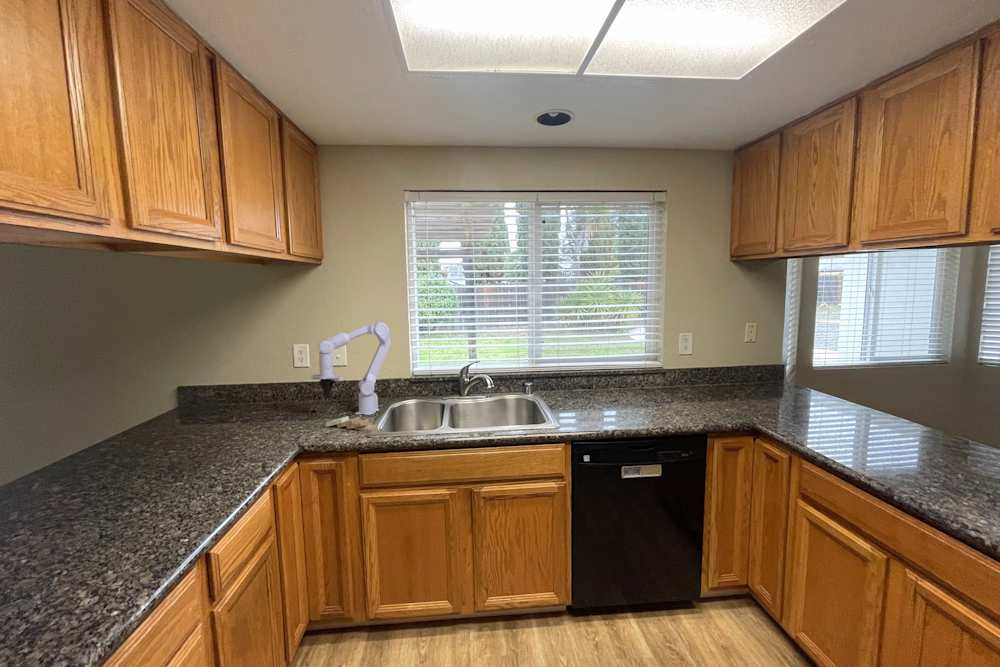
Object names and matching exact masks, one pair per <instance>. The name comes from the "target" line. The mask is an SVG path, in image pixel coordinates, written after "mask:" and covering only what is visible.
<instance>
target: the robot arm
mask: <svg viewBox="0 0 1000 667" xmlns="http://www.w3.org/2000/svg"><path fill="white" fill-rule="evenodd" d="M366 334H367V335H375V336H376V338H377V340H378V342H379V345H378V347H377V349H376V350H375V354H374V355H373V358H372V360H371V362H370V364H369V367H368V369H367V372H366V373H365V374H364V376H363V377H362V379H361V380H360V381H359V382H358V384H357V385H358V389H359V390H360V391H359V392H358V411H356V412H355V415H361V414H365V416H371V414H372V415H373V414H375V413H376V411H377V412H378V411H380V410H379V409H380V408H379V397H378V395H377V393H376V392H374V391H375V385H376V382H377V378H378V377H377V376H378V374H379V372H380V370H381V368H382V365H383V363H384V361H385V358H386V357H387V354H388V352H389V349H390V347H391V345H392V338H391V330H390V329H389V327H388V325H387V323H384V322H382V321H377V320H376V321H375V322H372V323H368V324H366V325H363V326H360V327H359V328H356V329H354V330H352V331H351V332H347V333H346V332H340V331H339V332H338V333H337V334H336V335H334V336H331V337H329V336H328V337H327V338H326V339H322V340H321V341H319V343H318V346H317V347H318V350H319V357H318V359H319V360H318V362H319V374H312V375H311V376H310V378H311V379H310V380H311V381H312V380H313V381H314V380H316V381H317V380H318V384H319V385H320V386H321V388H322V391H323V394H324V397H329V396H331V393H332V392H331V391H332V389H333V385H334V383H335V382H336V381H338V382H341V381H343V375H336V374H334V357H333V350H338V349H339V348H341V347H344V346H346V345H348V344H349V343H350V341H351V340H354V339H357V338H360V337H361V336H364V335H366ZM319 380H320V381H319Z"/></svg>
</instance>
